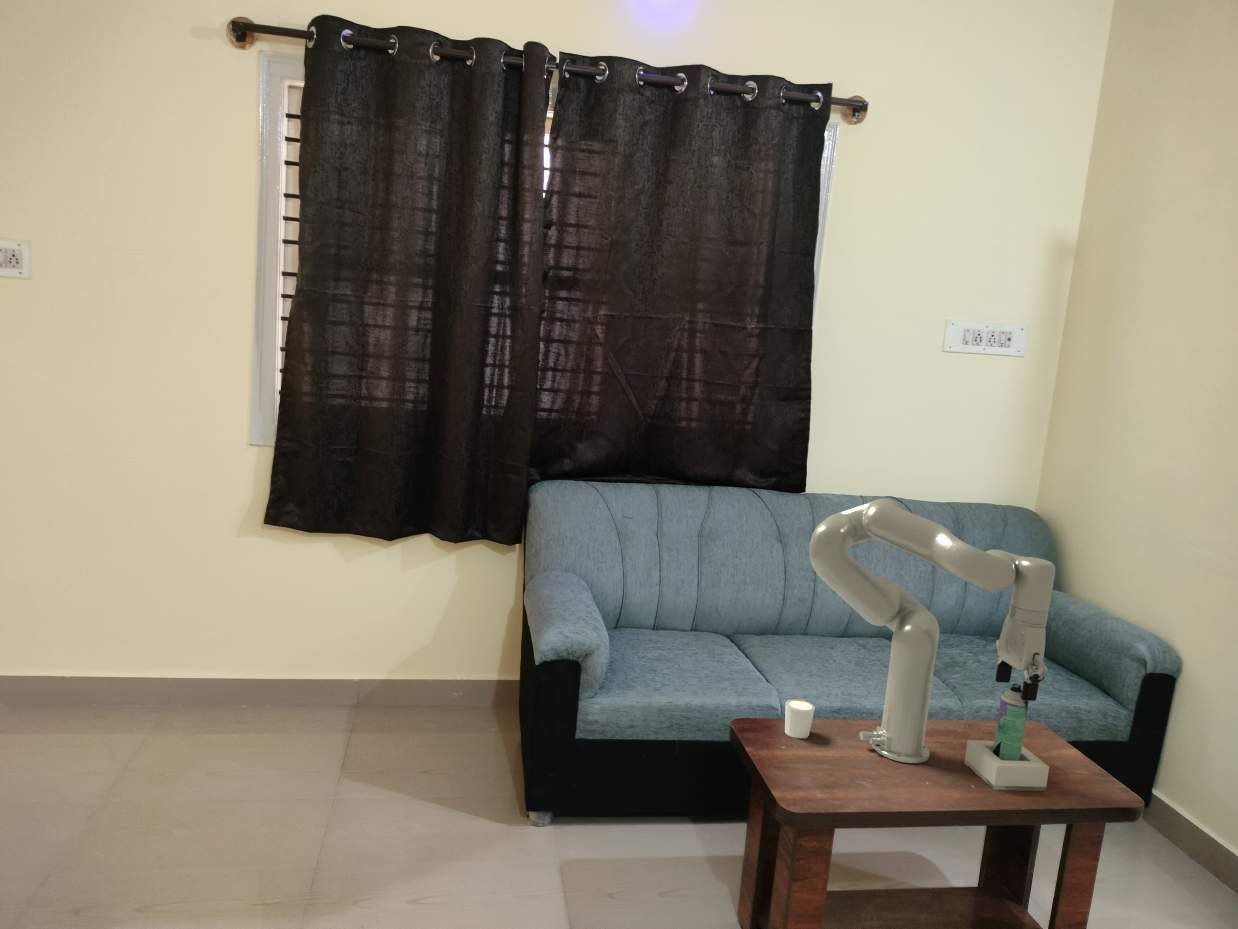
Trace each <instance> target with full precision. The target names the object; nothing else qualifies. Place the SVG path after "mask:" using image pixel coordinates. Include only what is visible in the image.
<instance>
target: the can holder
mask: <svg viewBox="0 0 1238 929" xmlns="http://www.w3.org/2000/svg"><path fill="white" fill-rule="evenodd" d="M966 741H967V742H966V749H965V753H964V761H963V762H964V763H963V764H965V765H966V766H967V767H968V766H969V767H970V768H971V769H972V770H973V771H974V772H975V773H974V772H973V771H972V770H971V769H970V768H969V767H968V768H969V769H970V770H971V771H972V772H973V773H974V774H975V775H976V776H977V777H979V778H980V777H981V778H982V779H983V780H984V781H985V782H986V783H987V784H988V785H987V784H986V783H985V782H984V781H983V780H982V779H981V778H980V779H981V780H982V781H983V782H984V783H985V784H986V785H987V786H988V787H989V788H991V789H992V790H993V791H1021V792H1022V791H1024V792H1036V791H1037V792H1046V791H1047V790H1046V789H1047V785H1048V776H1049V770H1050V766H1049V765H1047V763H1045V762H1043V761H1042V760H1041V759H1040V758H1038V757H1037V756H1036V755H1035V754H1034V753H1032V751H1030V750H1028V749H1027V748H1026V747H1025V746H1023V745H1022V748H1021V755H1020V761H1009V760H1001V759H999V758H998V757H997V756H996V755H995V754H993V748H994V741H995V740H977V739H974V740H973V739H967V740H966Z"/></svg>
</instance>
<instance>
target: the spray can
mask: <svg viewBox="0 0 1238 929" xmlns="http://www.w3.org/2000/svg"><path fill="white" fill-rule="evenodd" d="M1021 693H1022V685H1021V684H1018V683H1012V686H1011V687H1010V688H1009V689H1008V690H1004V691H1002V695H1001V694H1000V695H1001V696H1000V703H999V709H998V716H997V723H996V729H995V736H994V740H993V741H994V748H993V754H995V755H996V756H997V757H998V758H999V759H1001V760H1009V761H1020V755H1021V748H1022V746H1023V740H1024V733H1025V728H1026V723H1027V714H1028V708H1029V701H1027V700H1022V699H1021Z"/></svg>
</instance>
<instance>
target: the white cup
mask: <svg viewBox="0 0 1238 929" xmlns="http://www.w3.org/2000/svg"><path fill="white" fill-rule="evenodd" d="M784 709H785V714H784V715H785V716H784V718H785V719H784V733H785V734H786V735H787V736H789V737H792V738H795V739H802V738H803V739H807V738H809V737H810V733H811V727H812V722H813V719H814V714H815V709H816V707H815V705H814V704H812V703H810V702H809V701H806V700H802V699H788V700H786V701H785V708H784ZM808 736H809V737H808Z"/></svg>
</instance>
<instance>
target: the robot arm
mask: <svg viewBox="0 0 1238 929" xmlns="http://www.w3.org/2000/svg"><path fill="white" fill-rule="evenodd" d="M873 539H876V540H879V541H881V542H883V543H885V544H888V545H890V546H892V547H895V548H897V549H899V550H901V551H904V552H907V553H909V554H910V555H914V556H916V557H918V558H920V559H923V560H924V561H927V562H928V563H930V564H932V565H933V566H935V567H937V568H939V569H941V570H943V571H944V572H946V573H949V574H950V575H952V576H954V577H956V578H959V579H960V580H963V581H965V582H966V583H969V584H972V585H974V586H976V587H979V588H981V589H984V590H986V591H989V592H995V593H996V592H998V593H999V592H1004V591H1006V590H1008V589H1009V588H1011V587H1012V592H1011V598H1010V603H1009V609H1008V614H1007V615H1006V617H1005V618H1004V622H1003V625H1002V628H1001V632H1000V635H999V639H997V640H996V641H995V643H996V649H997V650H996V652H995V653H996V656H997V658H996V663H997V667H996V668H997V669H996V674H995V682H997V683H1005V684H1007V683H1010V682H1011V677H1012V671H1013V668H1014V669H1015V670H1018V671H1022V672H1023V674H1024V678H1025V681H1023V682H1022V687H1021V690H1022V693H1021V699H1022V700H1027V701H1028V702H1029V701H1030V702H1031V701H1032V702H1035V701H1036V700H1037V698H1038V697H1037V696H1038V691H1039V690H1038V689H1039V685H1040V684H1042V682H1043V681H1044V679H1045V676H1046V675H1047V673H1048V672H1049V669H1048V667H1047V666H1046V664H1045V662H1044V657H1045V650H1046V637H1047V635H1046V632H1047V631H1046V630H1047V629H1046V626H1047V622H1048V615H1049V611H1050V604H1051V598H1052V595H1053V594H1052V593H1053V588H1054V581H1055V578H1056V577H1055V576H1056V566H1055V564H1054V563H1053V562H1051V561H1049V560H1047V559H1043V558H1038V557H1035V556H1022V555H1018V554H1015V553H1011V552H1009V551H1006V550H1002V549H989V550H986V551H984V550H981V549H979V548H977V547H975V546H973V545H970V544H968V543H966V542H965V541H963V540H961V539H959V538H958V537H957V536H955V535H954V534H953V533H952V532H951V531H949V529H947V528H946V527H944V526H943V525H942V524H939V523H938V522H934V521H932V520H930V519H928V518H924V517H922V516H920V515H917V514H915V513H912V512H910V511H908V510H905V509H904V508H902V507H901V505H899V503H897V502H896V501H894V500H893V499H890V498H877V499H875V500H873V501H870V502H867V503H864V504H862V505H857V506H855V507H852V508H849V509H846V510H843V511H840V512H838V513H837V512H836V513H834V514H831V515H829V516H828V517H826V518H825V519H823V520H822V521H821V522H820V523H818V525H817V526H816V527H815V529H814V531H813V532H812V535H811V538H810V542H809V548H808V552H809V554H808V555H809V560H810V563H811V566H812V568H813V570H814V571H815V573H816V575H817V576H818V577H819V578H820V579H821V580H822V581H823V582H824V583H825V584H826V585H827V586H828V587H829V588H830V589H831V590H833V591H834V592H835V593H836V594H837V595H838V596H839V597H840V598H841V599H842V600H843V601H845V602H846V604H848V605H849V606H850V607H851V608H852V609H853V610H855V612H857V613H858V614H859V615H860V617H862V619H864V620H865V621H866V622H867V623H868V624H871V625H873V626H877V627H883V626H885V627H887V628H888V629H889V630H891V631H892V632H893V634H892V638H891V645H890V655H889V666H888V673H887V679H886V681H887V682H886V690H885V697H884V704H883V705H884V706H883V712H882V720H881V726H876V730H873V731H865V730H864V731H863V730H862V731H860V732H859V738H860V740H862V741H869V743H870V745H871V746H872V748H873V750H874V751H875V752H877V753H878V754H879V755H881V756H883V757H885V758H887V759H890V760H892V761H896V762H901V763H904V764H906V763H907V764H921V763H924V762H927V761H928V760H929V758H930V750H929V749H928V747H927V746H925V745H924V743H925V735H926V729H927V724H928V723H927V721H928V714H929V708H930V707H929V706H930V701H931V700H930V699H931V691H932V684H933V678H934V671H935V663H936V656H937V652H938V646H939V645H938V644H939V638H940V625H939V622H938V620H937V619H936V617H935V616H934V615H933V613H931V612H930V610H929V609H927V608H926V607H925V606H924V605H923V604H922V603H920V602H919V601H918V599H916V598H914V597H913V596H912V594H910V593H909V592H908V591H907V590H906V589H904V588H903V587H902V586H901V585H899V583H897V582H896V581H893V579H889V578H888V577H887V578H886V577H874V576H873V575H872V574H871V573H870V572H869V571H867V570H866V569H865V568H864V567H863V566H862V565H861V564H860V563H858V562H857V561H855V560H853V559H852V557H850V555H849V554H848V549H849V548H850V547H851V546H855V545H856V544H857V545H858V544H860V543H864V542H867V541H870V540H873ZM1031 673H1033V674H1032V675H1031Z"/></svg>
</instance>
